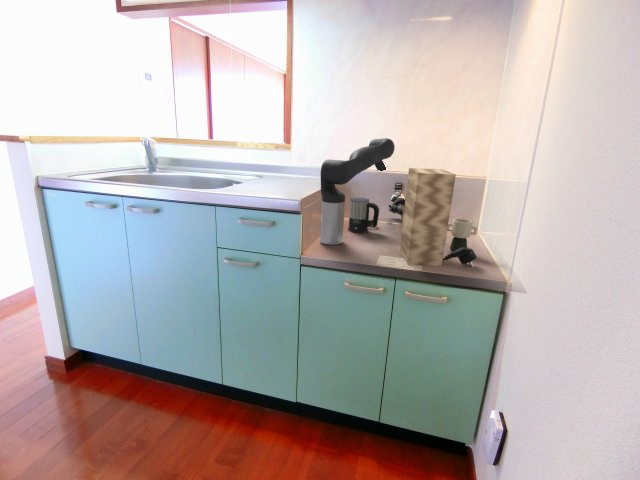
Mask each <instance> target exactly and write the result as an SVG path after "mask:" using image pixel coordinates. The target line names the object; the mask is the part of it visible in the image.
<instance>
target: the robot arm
mask: <svg viewBox="0 0 640 480" xmlns="http://www.w3.org/2000/svg"><path fill="white" fill-rule="evenodd" d="M394 152H395V143H394V141H393V140H392V139H391V138H387V137H386V138H374V139H373V138H372V139H371V140H370V142H369V145H368V146H363V147H360V148H358V149H355V150H353V152H352V153H351V154H350V156H349V159H348V160H339V159H325V160H324V161H323V162H322V164H321V167H320V168H321V169H320V195H321V216H320V217H321V219H320V236H319V237H320V240H319V243H320V244H324V245H329V246H336V245H341V244H343V241H344V223H345V221H344V220H345V208H346V207H345V205H346V204H345V203H346V195H345V194H344V192H342V191H340V190H339V189H338V188H337V187H336V185H341V186H342V185H346V184H347V183H349V182H350V181H351V180H352V179H354V178H355V177H356V176H357V175H358V174H359V175H360V174H361V173H362V172H363V171H366V170H368V169H370V168H371V167H373V166H375V168H376V170H377V171H378V170H380V171H383V170H386V167H385V165H384V163H385V162H384V160H387V159H390V158H391V157H392V156H393V154H394ZM382 160H383V161H382ZM383 162H384V163H383ZM405 199H406V198H405ZM405 199H404V198H398V199H396V200H395V201H394V202H393V203H392V206H391V205H389V207H388V212H390V213H393V214H397V215H400V216H401V215H402V213H403V210H402V209H401V205H405Z"/></svg>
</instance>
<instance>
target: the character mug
mask: <svg viewBox="0 0 640 480" xmlns="http://www.w3.org/2000/svg"><path fill="white" fill-rule="evenodd" d="M473 224H474V221H473V220H471V219H469V218H462V217H459V218H458V217H456V218H453V220H452V222H448V228H447V232H451V235H452V237H453V238H452V240H451V244H450V246H449V250H450V251H451V252H453V251H455V250H457V249H459V248H461V247H465V248H468V239H469V238H470V237H471V236H472V235H473V236H476V235H477V233H478V227H477V226H474V225H473ZM450 226H451V228H450ZM472 230H473V232H472Z"/></svg>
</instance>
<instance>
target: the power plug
mask: <svg viewBox="0 0 640 480" xmlns="http://www.w3.org/2000/svg"><path fill="white" fill-rule="evenodd" d="M455 258H457V259H458V261H459V262H460V264H462V265H466V264H469V265H470V267H471V268H474V264H473V262H472V261H475V260H476V259H477V255H476V253H475V251H474V249H472V248H470V247H469V248H468V247H467V248H465V247H461V248H459V249H457V250H455V251H451V252H450V253H448V254H446V255H445V256H444V257H443V261H445V260H446V261H448V260H451V259H455Z"/></svg>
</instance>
